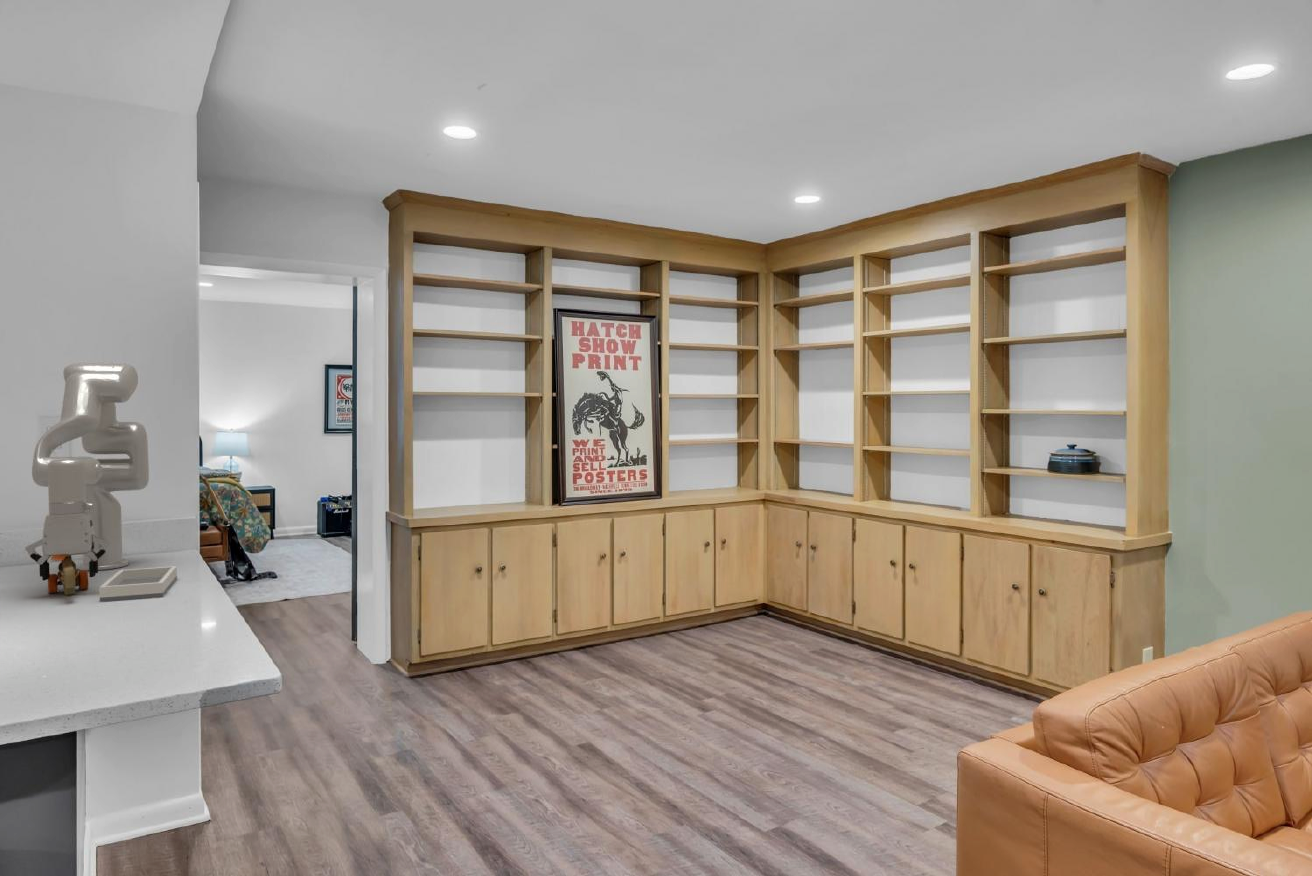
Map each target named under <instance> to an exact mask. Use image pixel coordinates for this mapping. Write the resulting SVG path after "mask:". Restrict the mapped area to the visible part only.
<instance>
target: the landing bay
mask: <svg viewBox="0 0 1312 876" xmlns="http://www.w3.org/2000/svg"><path fill="white" fill-rule="evenodd" d="M177 572H178V568H177V565H175V566H174V565H173V566H160V567H159V566H158V567H147V568H146V567H144V568H133V569H132V568H131V569H120V570H118V572H116V573H115V574H114V575H112V576H111V577H110V578H109V579H107V580H106V581H105V582H104V583H102V585H100V586H99V588H98V589H99V590H98V591H99V602H100V601H105V602H115V601H126V600H127V601H128V600H139V599H140V600H141V599H142V598H143V599H153V598H152V597H155V598H162V597H161V596H163V595H164V594H165V593H166V594H167V592H168V591H169V590H170V588H171V587H172V586H173V585H174V584H175V582H176V581H177V580H176V579H178V573H177ZM175 580H176V581H175ZM174 581H175V582H174ZM172 584H173V585H172ZM169 587H170V588H169ZM168 589H169V590H168ZM167 590H168V591H167ZM166 594H165V595H166ZM165 595H164V596H165ZM164 596H163V597H164Z"/></svg>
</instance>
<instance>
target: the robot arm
mask: <svg viewBox="0 0 1312 876" xmlns="http://www.w3.org/2000/svg"><path fill="white" fill-rule="evenodd" d="M63 379H64V382H65V384H64V390H63V391H64V392H63V397H62V398H63V400H62V407H61V414H60V415H61V416H60V420H59V422H57V423H55V424H54V425H53V426H52V427H50V428H49V429H48V430H47V431H46V432H45V433H44V434H43V435H42V436H41V437H40V438H39V440H37V443H36V445H35V448H34V453H33V459H32V467H31V475H32V476H31V477H32V480H33V482H34V483H35V484H36V485H37V486H40V487H43V488H46V487H47V489H48V492H47V493H48V515H45V518H44V524H43V529H42V530H43V531H42V539H40V540H37V541H36V542H34V543H31V544H29V545H28V546H25V547H24V548H25V551H26V552H27V554H28V555H29V556H30V559H32V560H33V561H34V562H36V563H37V565H39V577H40V578H41V580H42V581H48V579H49V578H50V574H51V573H50V563H49V562H48V560H49V559H51V557H52V556H53V555H71V556H77V555H82V562H81V563H78V564H76V570H77V571H78V570H79V571H83V570H87V571H89V572H88V578H94V577H95V576H96V575H97V574H98V573H99V571H102V570H103V571H104V570H113V569H118V568H122V567H126V566H128V565H129V564H130V563H129V559H123V534H122V533H123V530H122V529H123V527H122V506H121V504H120V502H119V500H118V499H117V498H116V497H115V496H114V495H113V494H112V493H113V492H129V491H140V490H144V489H146V488H147V486H148V484H149V479H150V469H149V465H150V464H149V448H148V447H149V443H148V434H147V431H146V428H145V426H144V425H143V424H142V423H140V422H137V421H118V419H117V409H116V407H117V406H116V404H120V403H121V404H123V403H126V402H128V401H129V400H130V399H131V397H132V396H133V394H134V392H135V391H136V389H137V387H138V383H139V382H138V381H139V375H138V372H137V369H136V368H135V367H134V366H133V365H132V364H127V363H103V362H102V363H101V362H100V363H99V362H80V363H79V362H78V363H71V364H68V365H66V366H65V367H64V369H63ZM79 438H81V445H82V448H83V450H84V452H86V453H87V454H89V455H90V454H91V455H127V456H128V457H129V458H95V457H93V456H92V457H91V456H51V455H52V453H53V452H54V451H55V450H56V449H57V448H59V447H60V446H62V445H63V444H66V443H68V442H70V441H73V440H76V439H79ZM111 492H112V493H111ZM40 546H41V547H42V548H41V549H42V554H43V555H41V554H40V553H38V552H37V551H36V548H38V547H40Z"/></svg>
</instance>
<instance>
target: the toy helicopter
mask: <svg viewBox="0 0 1312 876" xmlns="http://www.w3.org/2000/svg"><path fill="white" fill-rule="evenodd" d="M50 560H51V561H53V562H59V564H58V567H57V568H58V571H57V573H50V578H49V579H47V591H48V593H49V594H56V593H58V591H59V590H58V586H63V591H64V595H65V596H73V595H72V594H74V595H75V593H76V592H75V588H76V587H78V589H79V590H81V591H82V590H83V591H84V590H88V589H89V572H88V570H79V571H78V569H77V563H76V562H75V561H74V560H73V558H72V555H53V556H51V557H50Z"/></svg>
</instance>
